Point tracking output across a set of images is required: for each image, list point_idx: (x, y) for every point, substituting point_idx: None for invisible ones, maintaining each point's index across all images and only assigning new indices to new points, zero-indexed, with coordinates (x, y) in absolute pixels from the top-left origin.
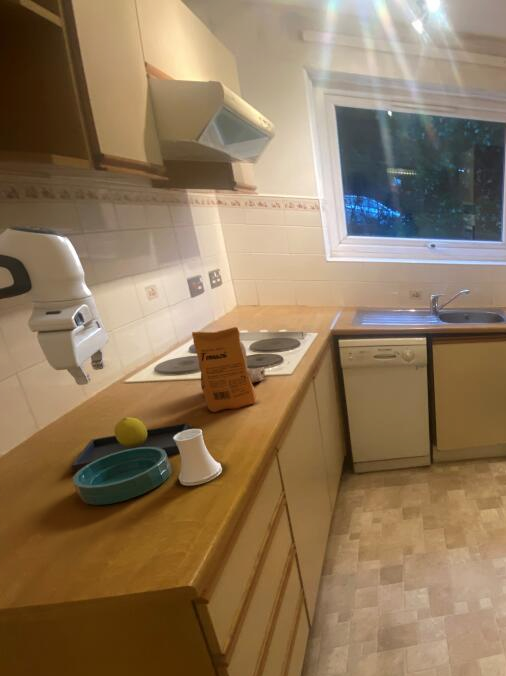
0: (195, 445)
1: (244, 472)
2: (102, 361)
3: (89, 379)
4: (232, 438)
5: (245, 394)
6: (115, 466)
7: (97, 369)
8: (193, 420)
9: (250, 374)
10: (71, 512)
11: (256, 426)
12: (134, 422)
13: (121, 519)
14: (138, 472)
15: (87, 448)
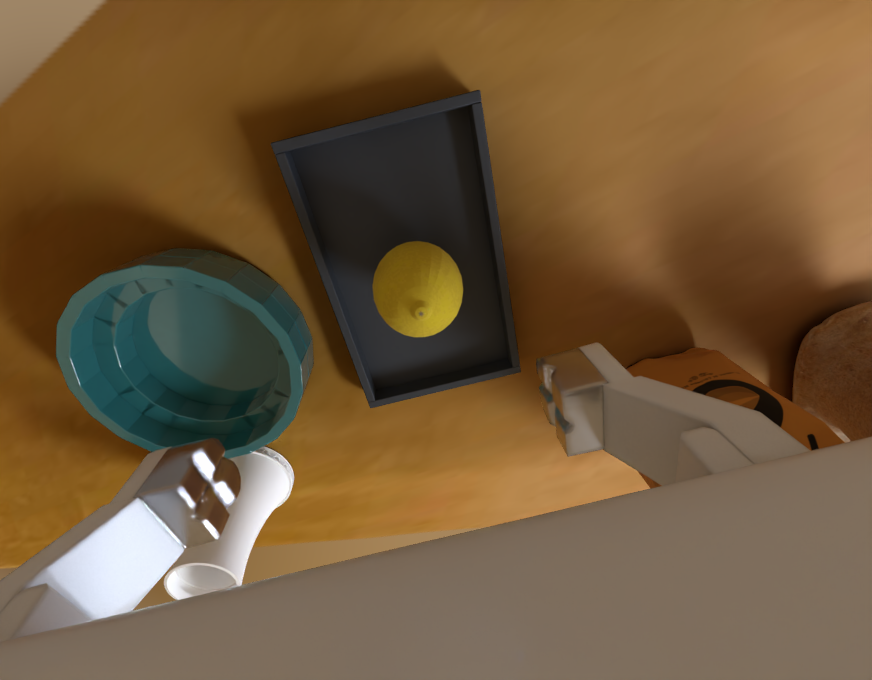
0: (197, 574)
1: (259, 538)
2: (593, 444)
3: (226, 498)
4: (424, 472)
5: (641, 474)
6: (245, 309)
7: (539, 374)
8: (579, 341)
9: (833, 429)
10: (73, 272)
11: (477, 498)
12: (409, 334)
13: (66, 402)
14: (259, 347)
15: (402, 121)
